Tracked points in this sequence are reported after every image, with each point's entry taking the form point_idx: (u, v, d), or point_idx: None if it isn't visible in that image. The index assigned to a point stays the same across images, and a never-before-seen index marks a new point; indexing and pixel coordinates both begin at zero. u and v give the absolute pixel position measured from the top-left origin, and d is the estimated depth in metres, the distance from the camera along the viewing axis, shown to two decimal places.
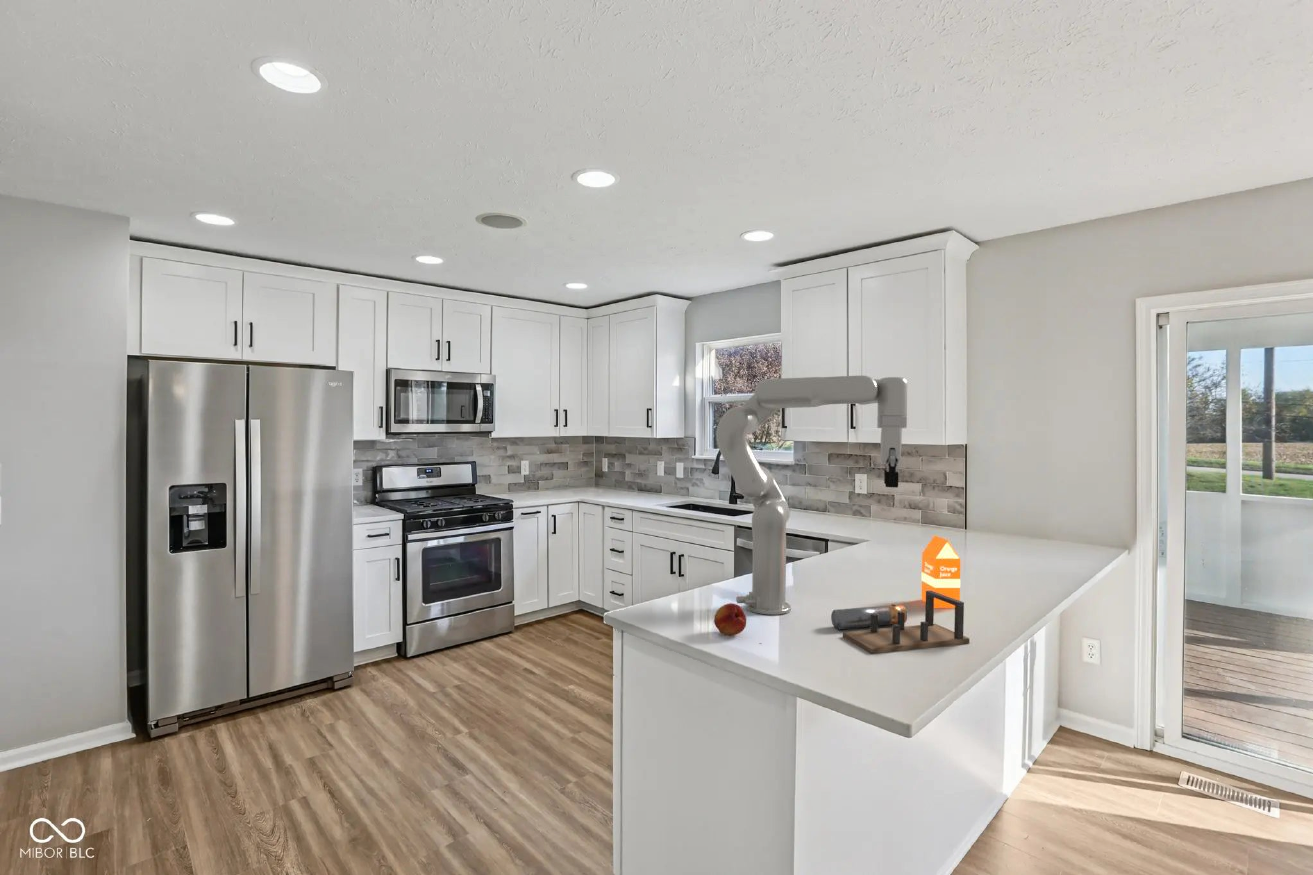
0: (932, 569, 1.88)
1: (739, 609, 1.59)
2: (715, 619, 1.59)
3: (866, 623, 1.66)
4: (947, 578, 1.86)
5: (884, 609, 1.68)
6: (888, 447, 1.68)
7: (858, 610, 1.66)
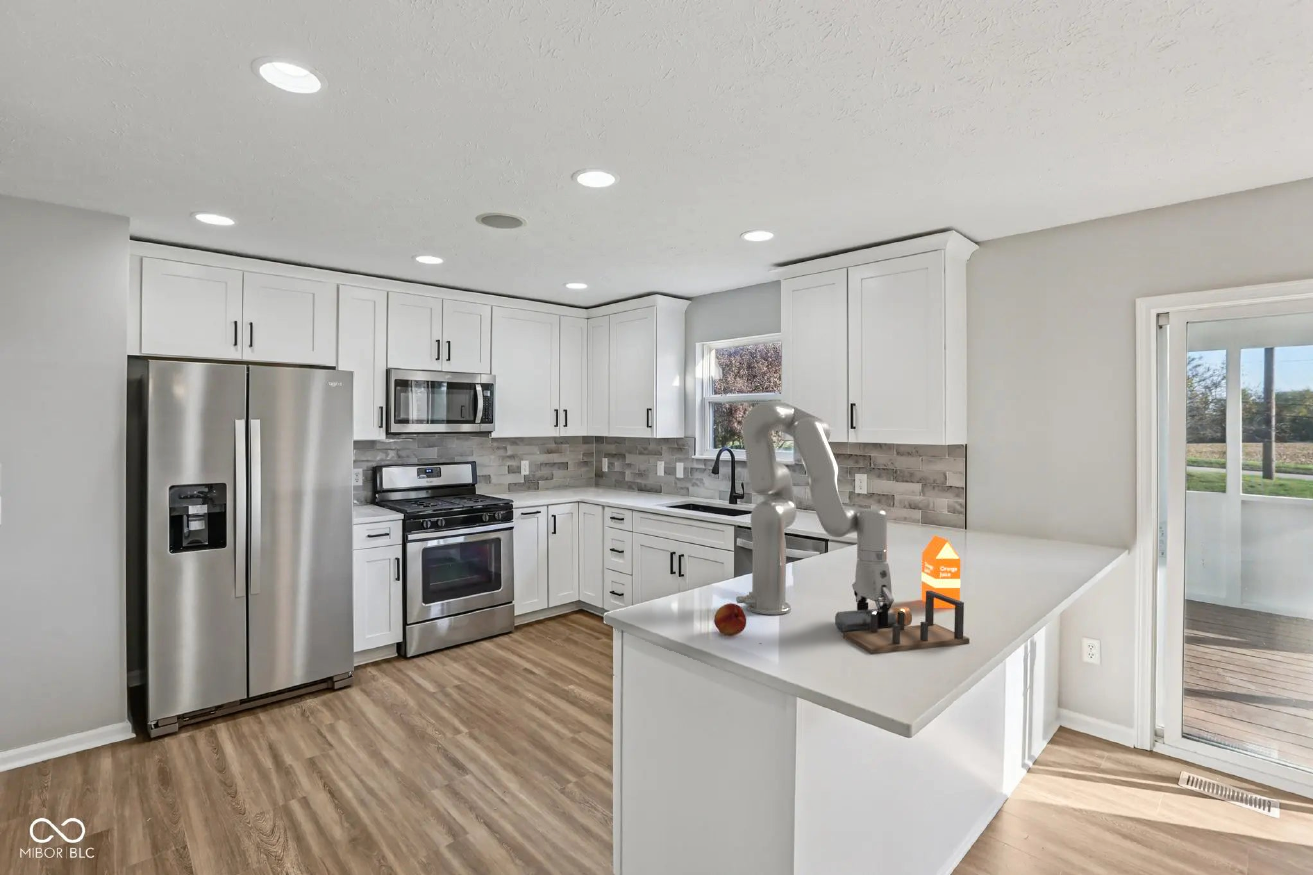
0: (932, 569, 1.88)
1: (739, 609, 1.59)
2: (715, 619, 1.59)
3: None
4: (947, 578, 1.86)
5: (891, 618, 1.65)
6: None
7: (865, 618, 1.63)
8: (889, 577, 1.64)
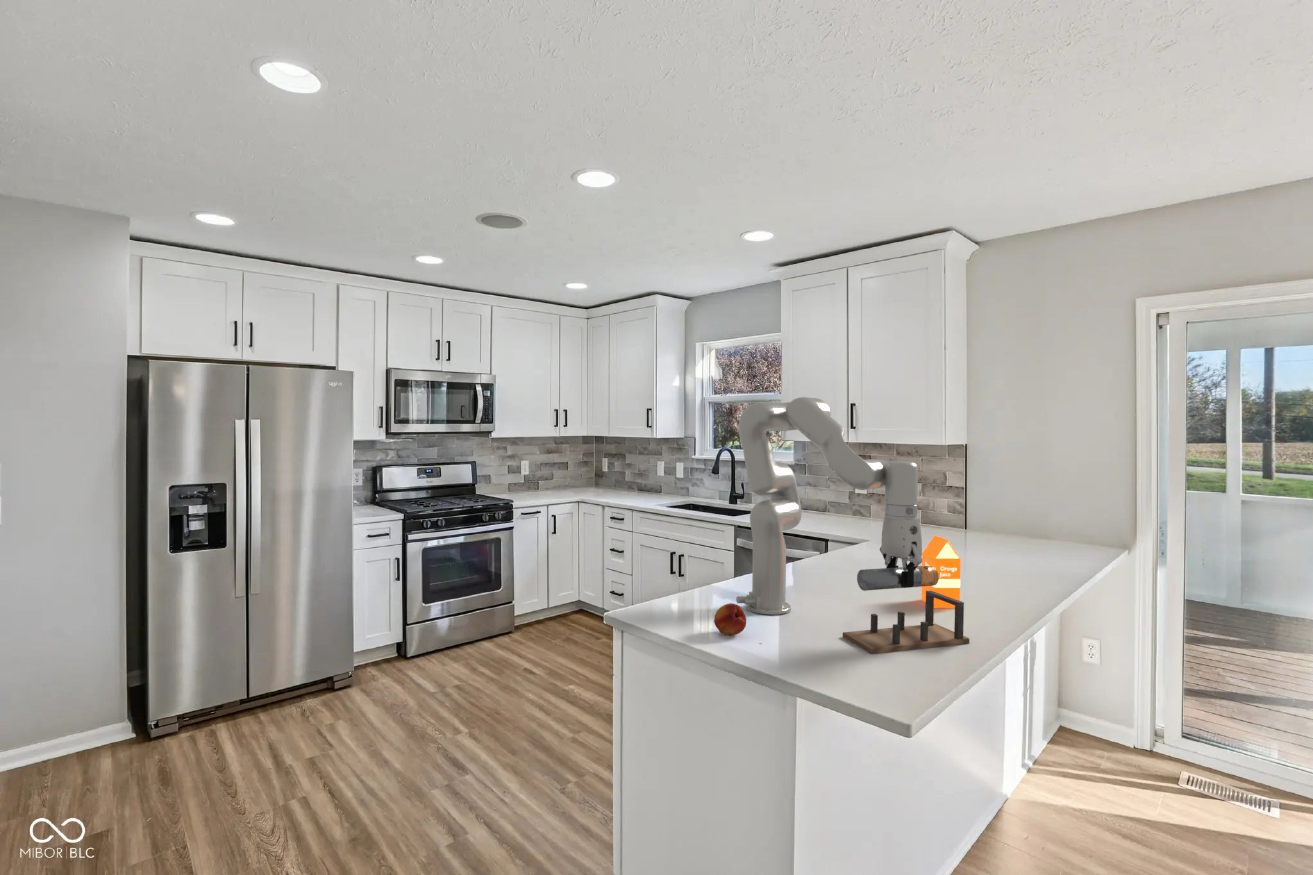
0: None
1: (739, 609, 1.59)
2: (715, 619, 1.59)
3: (894, 587, 1.54)
4: (947, 578, 1.86)
5: (915, 572, 1.56)
6: None
7: (888, 572, 1.54)
8: (920, 533, 1.52)
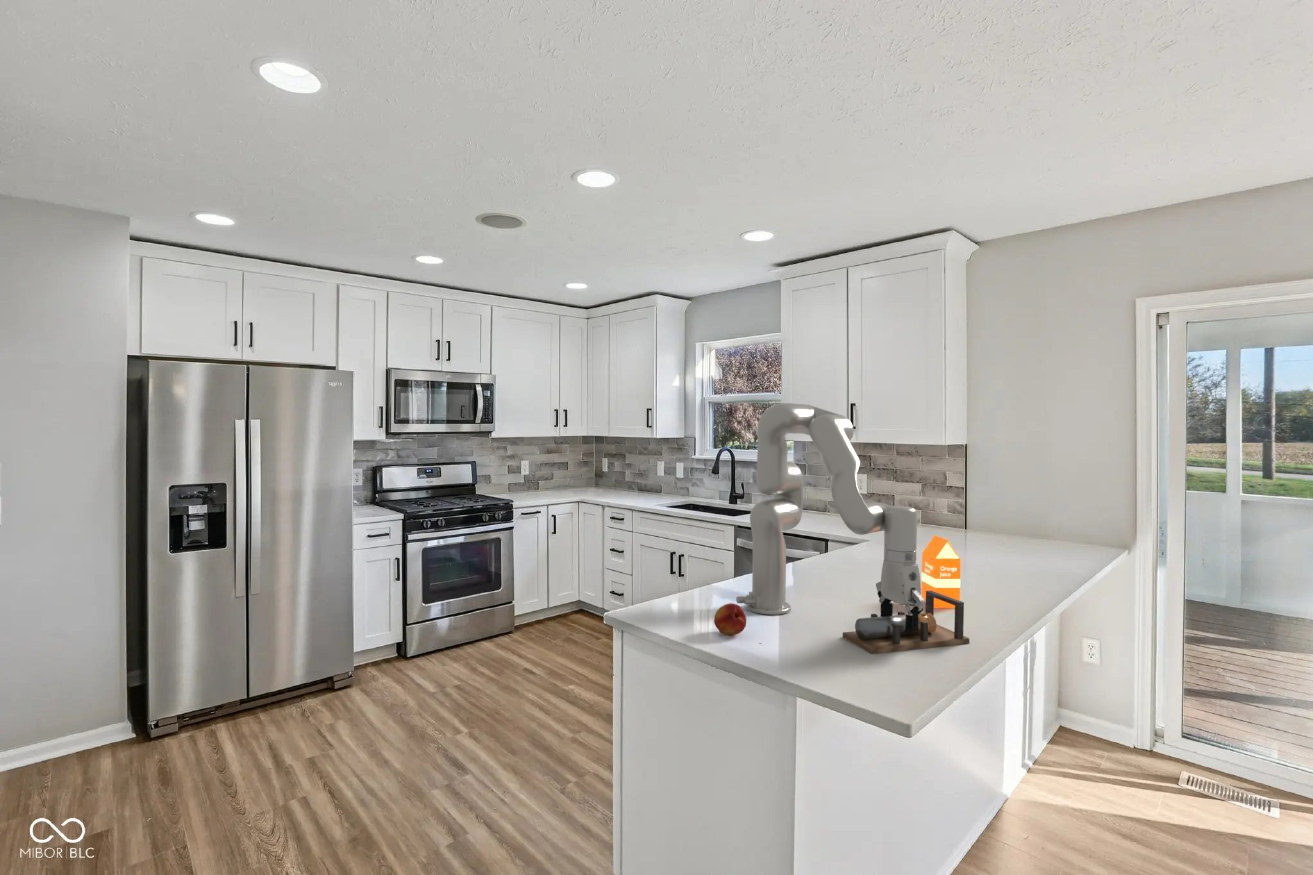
0: (932, 569, 1.88)
1: (739, 609, 1.59)
2: (715, 619, 1.59)
3: None
4: (947, 578, 1.86)
5: None
6: None
7: (885, 621, 1.54)
8: (919, 580, 1.53)
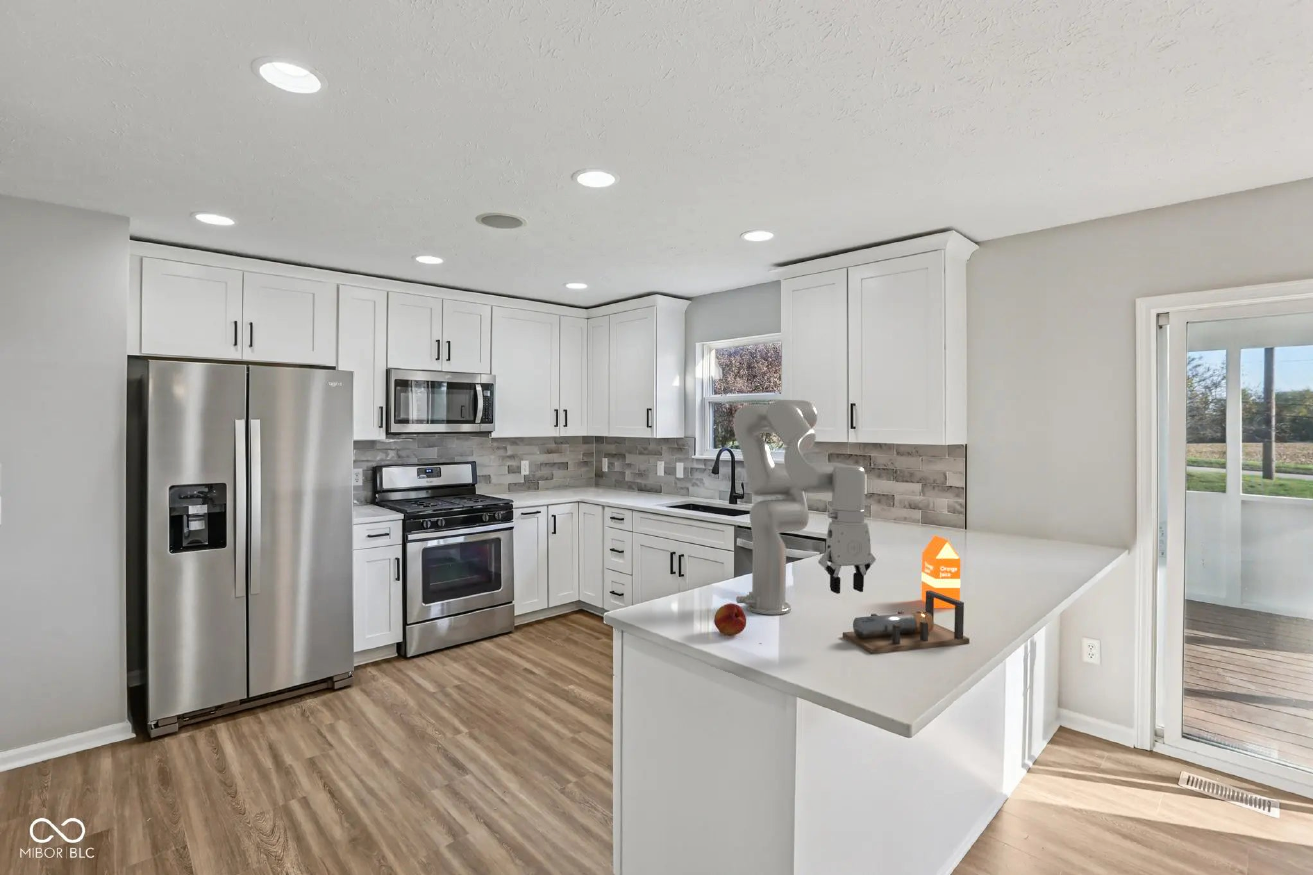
0: (932, 569, 1.88)
1: (739, 609, 1.59)
2: (715, 619, 1.59)
3: (891, 632, 1.55)
4: (947, 578, 1.86)
5: (909, 616, 1.58)
6: None
7: (881, 617, 1.56)
8: (834, 539, 1.49)
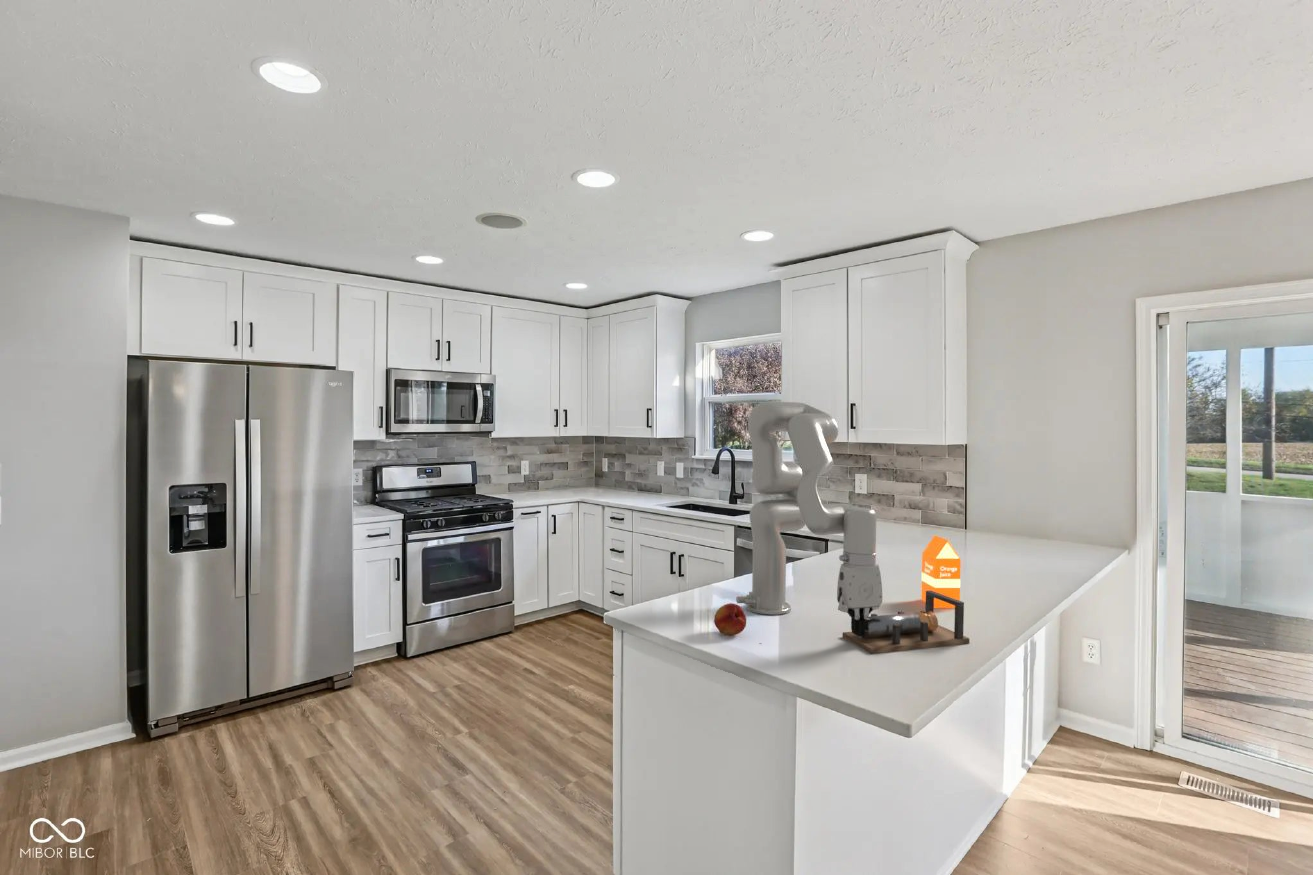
0: (932, 569, 1.88)
1: (739, 609, 1.59)
2: (715, 619, 1.59)
3: None
4: (947, 578, 1.86)
5: (913, 615, 1.58)
6: None
7: (886, 617, 1.56)
8: (846, 582, 1.50)
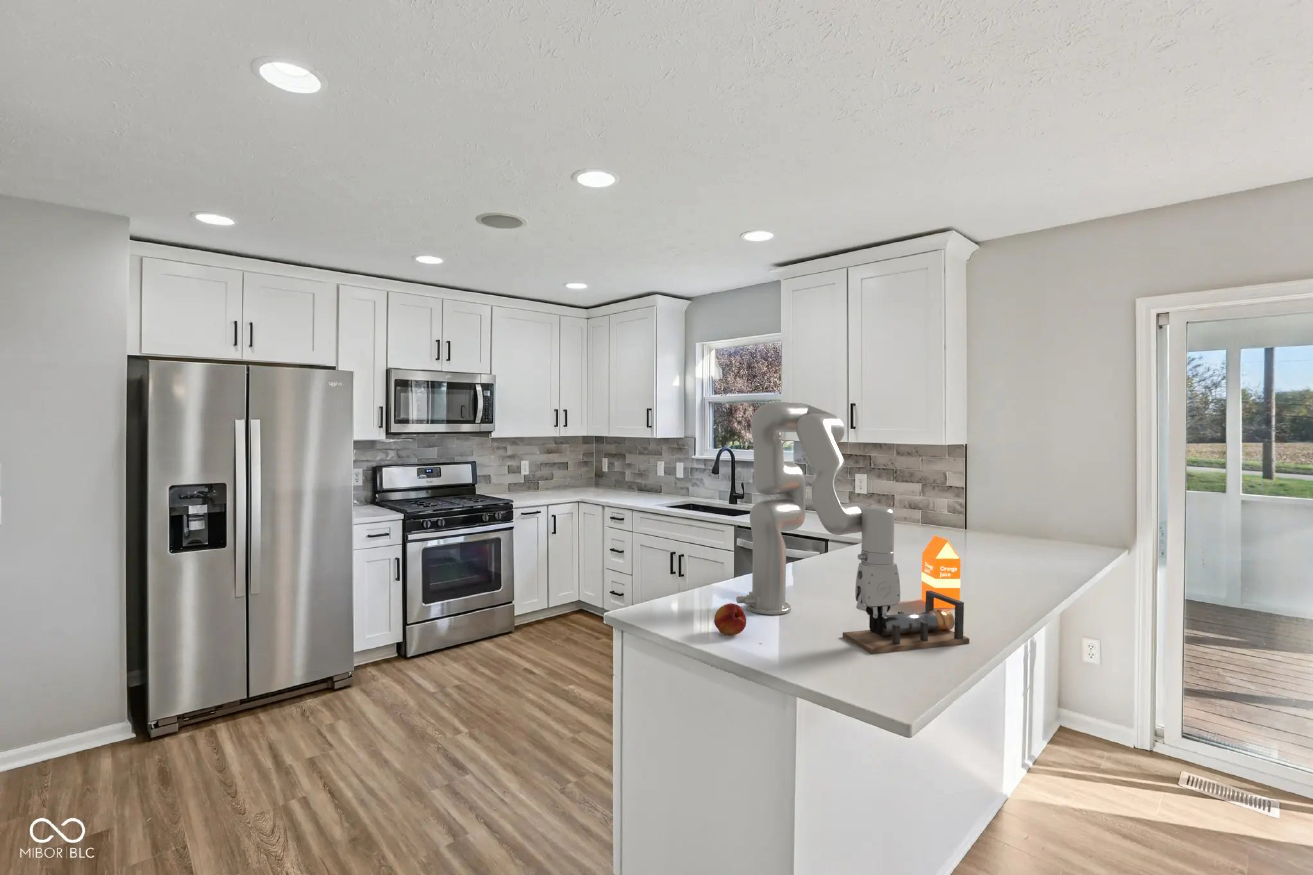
0: (932, 569, 1.88)
1: (739, 609, 1.59)
2: (715, 619, 1.59)
3: (912, 630, 1.57)
4: (947, 578, 1.86)
5: (930, 614, 1.59)
6: None
7: (903, 615, 1.58)
8: (864, 580, 1.51)
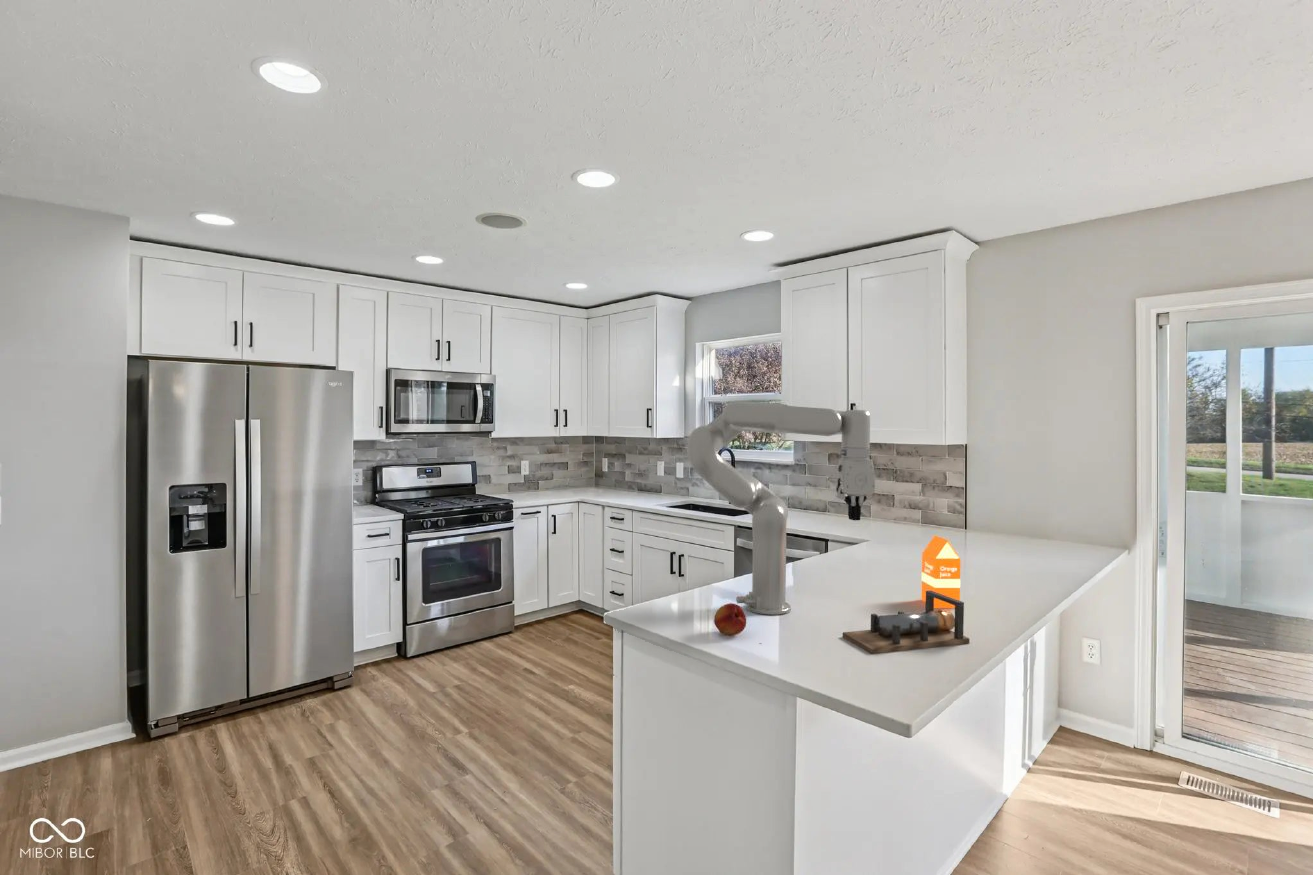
0: (932, 569, 1.88)
1: (739, 609, 1.59)
2: (715, 619, 1.59)
3: (913, 631, 1.57)
4: (947, 578, 1.86)
5: (931, 615, 1.59)
6: None
7: (904, 616, 1.57)
8: (844, 472, 1.73)
